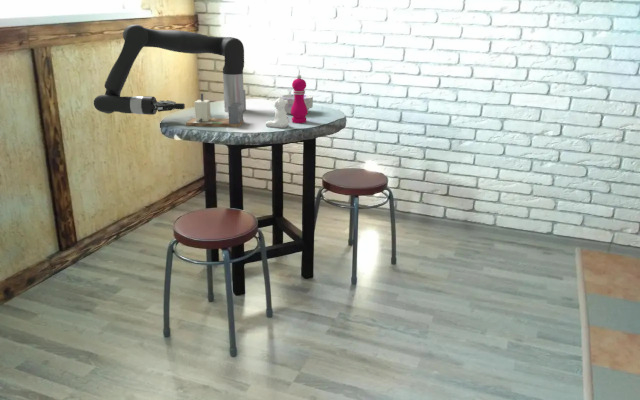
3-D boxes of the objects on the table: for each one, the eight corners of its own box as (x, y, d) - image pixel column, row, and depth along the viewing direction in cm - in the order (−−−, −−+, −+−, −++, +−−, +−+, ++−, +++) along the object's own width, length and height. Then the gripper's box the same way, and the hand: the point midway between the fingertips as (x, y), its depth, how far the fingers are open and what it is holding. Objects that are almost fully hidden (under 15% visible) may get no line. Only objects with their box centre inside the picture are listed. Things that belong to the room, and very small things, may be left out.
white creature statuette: (282, 123, 232) (282, 95, 228) (295, 126, 226) (295, 97, 222) (264, 126, 226) (264, 97, 222) (277, 130, 220) (277, 100, 216)
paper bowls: (308, 109, 263) (308, 93, 260) (315, 115, 249) (316, 98, 246) (277, 110, 259) (277, 93, 256) (283, 116, 245) (283, 99, 243)
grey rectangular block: (228, 123, 223) (228, 106, 221) (234, 118, 233) (233, 102, 230) (238, 124, 223) (237, 107, 221) (243, 119, 233) (242, 102, 230)
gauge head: (193, 122, 223) (192, 95, 220) (199, 118, 231) (197, 92, 228) (205, 122, 223) (204, 96, 219) (210, 118, 231) (209, 92, 227)
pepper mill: (289, 123, 232) (289, 75, 225) (292, 119, 239) (292, 73, 232) (306, 123, 231) (306, 76, 224) (308, 120, 238) (309, 74, 231)
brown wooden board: (185, 125, 224) (185, 122, 224) (193, 120, 235) (193, 117, 234) (238, 127, 223) (238, 123, 223) (243, 121, 233) (243, 118, 233)
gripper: (136, 99, 220) (178, 100, 220) (148, 93, 233) (188, 94, 232) (138, 117, 223) (180, 118, 222) (150, 111, 235) (189, 112, 235)
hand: (184, 106), depth 227 cm, fingers closed
